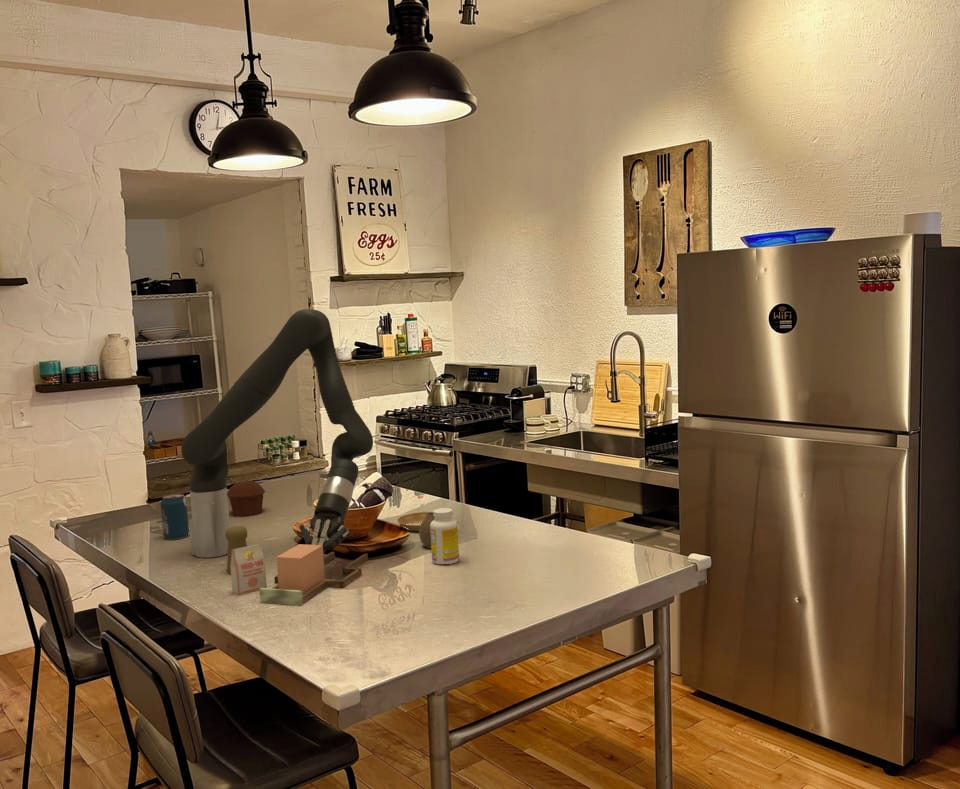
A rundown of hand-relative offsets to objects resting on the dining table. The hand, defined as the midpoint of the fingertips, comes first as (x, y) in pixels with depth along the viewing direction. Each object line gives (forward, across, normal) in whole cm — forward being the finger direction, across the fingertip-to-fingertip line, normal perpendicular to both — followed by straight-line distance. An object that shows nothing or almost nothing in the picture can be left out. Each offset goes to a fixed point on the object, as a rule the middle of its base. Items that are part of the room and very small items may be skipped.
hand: (313, 563), depth 200 cm
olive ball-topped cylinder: (0, -23, +6) cm, 24 cm away
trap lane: (+2, 0, +4) cm, 5 cm away
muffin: (-36, -55, +43) cm, 79 cm away
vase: (-19, +17, +26) cm, 37 cm away
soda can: (-17, -60, +23) cm, 67 cm away
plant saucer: (-32, +7, +39) cm, 51 cm away
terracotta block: (+7, 0, -1) cm, 7 cm away
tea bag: (+8, -13, -2) cm, 15 cm away
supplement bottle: (-11, +25, +17) cm, 32 cm away
